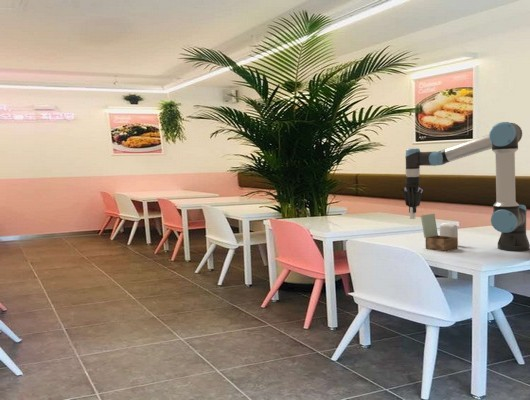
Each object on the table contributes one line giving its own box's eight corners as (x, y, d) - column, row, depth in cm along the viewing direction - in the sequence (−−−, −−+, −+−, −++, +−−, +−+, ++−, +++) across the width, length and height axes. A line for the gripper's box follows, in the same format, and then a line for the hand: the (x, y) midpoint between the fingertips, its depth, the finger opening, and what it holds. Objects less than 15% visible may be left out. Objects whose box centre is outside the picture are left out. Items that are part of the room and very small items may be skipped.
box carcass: (457, 248, 268) (457, 237, 267) (445, 251, 261) (445, 240, 261) (438, 246, 277) (437, 235, 277) (425, 248, 271) (425, 237, 270)
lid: (434, 213, 278) (433, 213, 278) (422, 215, 271) (420, 215, 272) (437, 235, 277) (436, 235, 278) (425, 237, 270) (424, 237, 271)
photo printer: (438, 244, 283) (438, 222, 282) (444, 243, 285) (443, 221, 284) (453, 246, 274) (453, 224, 273) (459, 245, 276) (459, 223, 275)
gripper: (426, 176, 278) (426, 219, 280) (407, 175, 288) (407, 217, 290) (418, 176, 273) (418, 220, 275) (398, 176, 284) (398, 218, 286)
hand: (412, 218), depth 283 cm, fingers closed
